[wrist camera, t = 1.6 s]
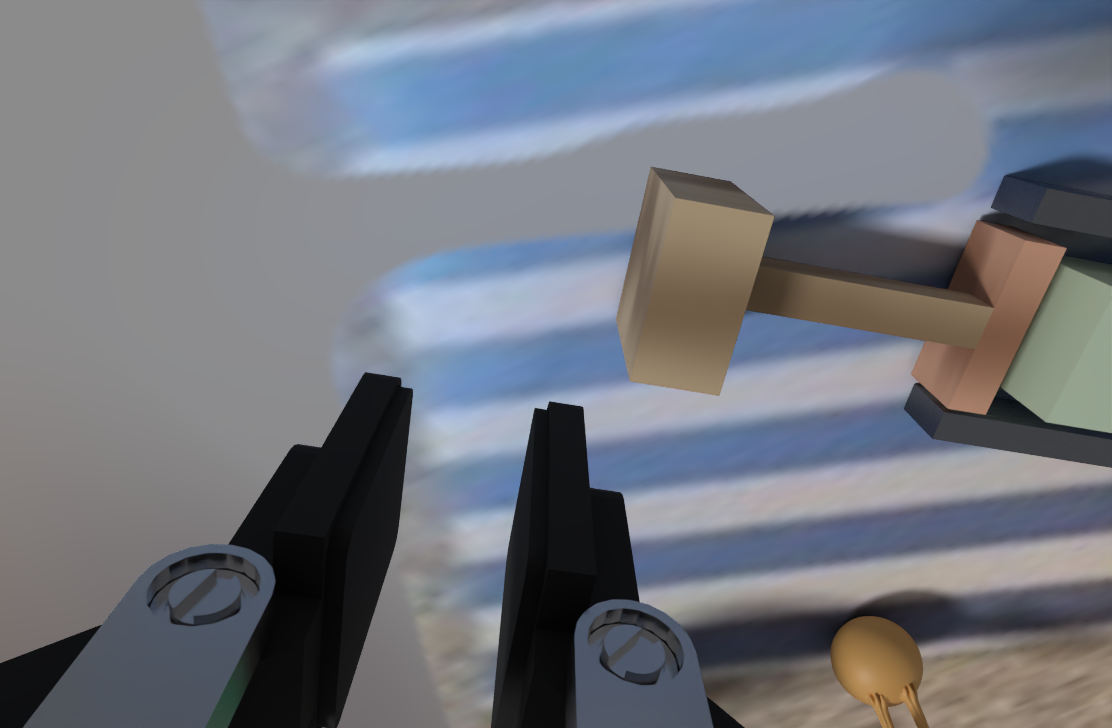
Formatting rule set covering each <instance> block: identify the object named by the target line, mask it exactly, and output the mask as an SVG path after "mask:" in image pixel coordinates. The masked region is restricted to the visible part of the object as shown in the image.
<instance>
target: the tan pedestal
mask: <svg viewBox="0 0 1112 728" xmlns="http://www.w3.org/2000/svg"><path fill="white" fill-rule="evenodd" d="M774 217H775V216H774V215H773V214H771V213H770V212H769V211H768V210H766V209H765V208H764V207H763V206H761V205H760V204H759V203H757V202H756V201H755V200H754V199H752V198H751V197H750V196H748V195H747V194H746V193H745V192H743V191H742V190H741V189H739V188H738V187H737V186H736V185H734V184H733V183H732V182H730V181H725V180H720V179H714V178H709V177H703V176H698V175H693V174H688V173H682V172H677V171H671V170H666V169H660V168H655V167H651V168H650V172H649V177H648V181H647V186H646V190H645V194H644V199H643V203H642V208H641V212H640V216H639V220H638V225H637V229H636V234H635V238H634V242H633V247H632V251H631V255H630V260H629V264H628V269H627V273H626V277H625V282H624V286H623V290H622V295H621V299H620V304H619V308H618V312H617V317H616V321H617V326H618V330H619V335H620V339H621V344H622V348H623V353H624V357H625V362H626V366H627V371H628V375H629V379H630V381H631V382H637V383H643V384H649V385H656V386H662V387H668V388H674V389H680V390H686V391H693V392H699V393H705V394H711V395H717V396H719V395H720V392H721V389H722V386H723V382H724V379H725V376H726V373H727V369H728V366H729V363H730V360H731V356H732V353H733V350H734V347H735V343H736V340H737V337H738V334H739V330H740V327H741V324H742V321H743V317H744V314H745V311H746V310H749V311H755V312H760V313H766V314H772V315H778V316H784V317H790V318H795V319H801V320H807V321H813V322H819V323H824V324H830V325H836V326H842V327H848V328H854V329H859V330H865V331H871V332H877V333H883V334H888V335H894V336H900V337H906V338H912V339H918V340H923V341H925V343H924V345H923V348H922V350H921V352H920V355H919V357H918V360H917V362H916V364H915V367H914V369H913V371H912V374H911V375H912V376H913V377H914V378H915V379H916V380H917V381H919V382H920V383H921V384H922V385H923V386H924V387H925V388H926V389H927V390H928V391H929V392H930V393H932V394H933V395H934V396H935V397H936V398H937V399H938V400H939V401H940V402H941V403H942V404H943V405H944V406H946V407H947V408H948V409H953V410H959V411H965V412H971V413H977V414H983V415H986V413H987V411H988V409H989V407H990V405H991V403H992V401H993V399H994V397H995V395H996V393H997V391H998V389H999V387H1000V384H1001V382H1002V380H1003V378H1004V376H1005V374H1006V372H1007V370H1008V368H1009V366H1010V364H1011V362H1012V360H1013V358H1014V356H1015V354H1016V352H1017V350H1018V348H1019V345H1020V343H1021V341H1022V339H1023V337H1024V335H1025V333H1026V331H1027V329H1028V327H1029V325H1030V323H1031V321H1032V319H1033V317H1034V315H1035V313H1036V311H1037V309H1038V307H1039V304H1040V302H1041V300H1042V298H1043V296H1044V294H1045V292H1046V290H1047V288H1048V286H1049V284H1050V282H1051V280H1052V278H1053V276H1054V274H1055V272H1056V270H1057V268H1058V265H1059V263H1060V261H1061V259H1062V257H1063V255H1064V253H1065V251H1066V249H1067V248H1065V247H1063V246H1060V245H1058V244H1055V243H1053V242H1050V241H1048V240H1045V239H1043V238H1040V237H1038V236H1035V235H1033V234H1030V233H1028V232H1025V231H1023V230H1020V229H1018V228H1015V227H1011V226H1005V225H1000V224H995V223H989V222H984V221H978V220H977V221H976V224H975V226H974V228H973V231H972V233H971V235H970V238H969V240H968V242H967V245H966V247H965V249H964V252H963V254H962V256H961V259H960V261H959V263H958V266H957V268H956V270H955V273H954V275H953V278H952V280H951V282H950V285H949V287H948V289H942V288H937V287H931V286H925V285H920V284H914V283H909V282H903V281H897V280H892V279H886V278H880V277H875V276H869V275H864V274H858V273H852V272H847V271H841V270H835V269H830V268H824V267H819V266H813V265H807V264H802V263H796V262H791V261H785V260H779V259H774V258H768V257H762V256H763V252H764V249H765V246H766V243H767V239H768V236H769V233H770V230H771V226H772V223H773V220H774Z"/></svg>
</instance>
